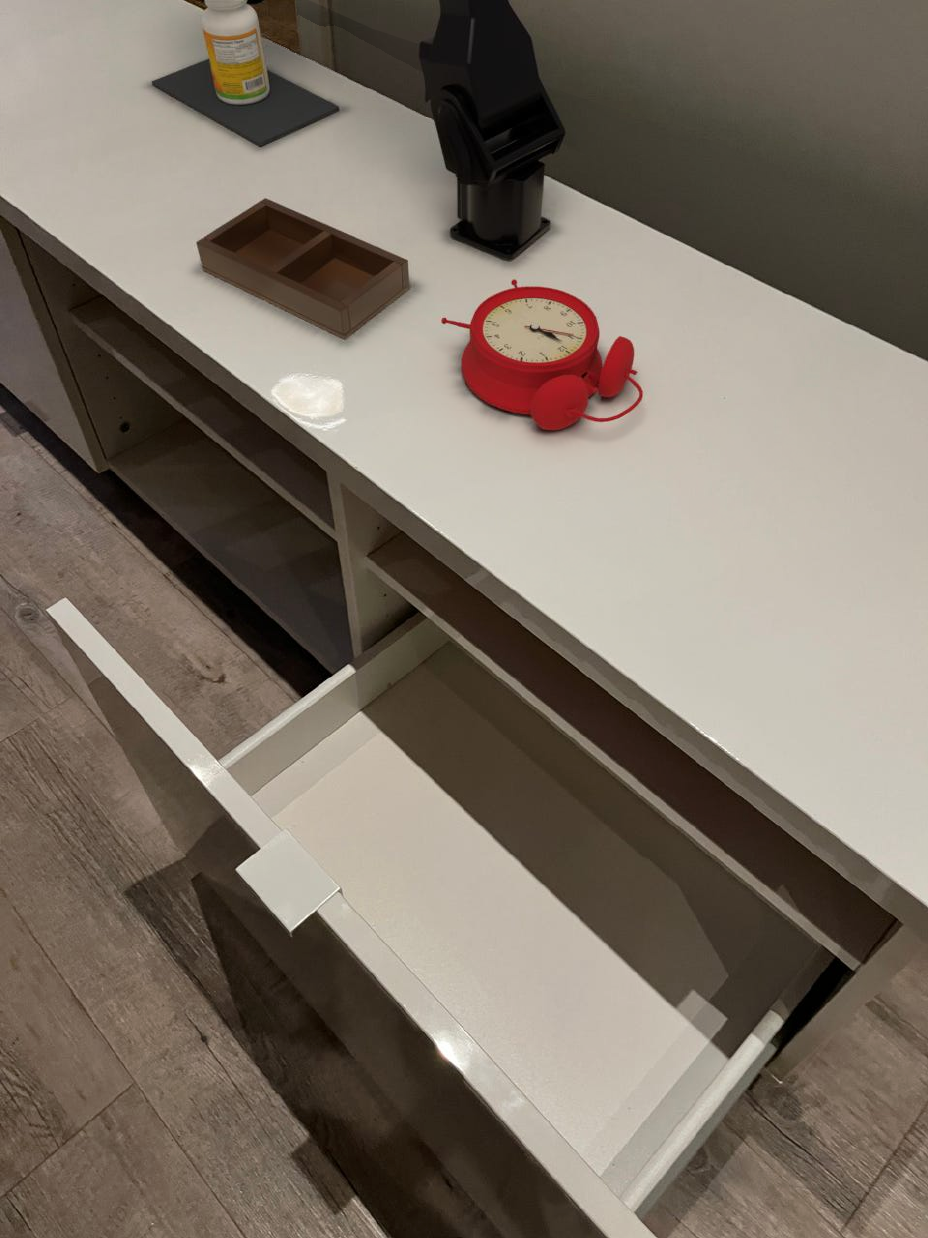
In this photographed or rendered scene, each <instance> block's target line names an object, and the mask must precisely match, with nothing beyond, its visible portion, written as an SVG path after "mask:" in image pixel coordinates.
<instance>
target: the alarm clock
mask: <svg viewBox="0 0 928 1238" xmlns="http://www.w3.org/2000/svg"><path fill="white" fill-rule="evenodd" d="M510 284H511V285H512V286H513V288H508V289H505V290H501V291H499V292H496V293H494V294H493V295H490V296H489V297H487V298H486V299H485V300H483V301H481V303H480V304H479V305H478V306H477V308H476V309H475V310H474V312H473V315H472V317H471V320H470V323H465V322H460V321H454V320H449V319H447V317H442V318H441V322H440V323H441V324H442V325H446V324H450V325H453V326H457V327H459V328H463V329H468V330H469V341H468V342H467V344H466V345H465V347H464V349H463V352H462V355H461V366H460V367H461V368H460V369H461V373H462V377H463V380H464V382H465V384H466V385H467V387H468V388H469V390H470V391H471V392H472V393H473V394H475V396H477V397H478V398H479V399H480V400H482V401H484V402H485V403H486V404H488V405H491V406H493V407H495V408H498V409H499V410H503V411H506V412H510V413H515V414H521V415H530V416H531V418H532V420H533V422H534V423H535V424H536V425H537V426H538V427H539V428H541V429H543V430H546V431H559V430H563V429H565V428H568V427H569V426H572V425H573V424H575V423H576V422H577V421H578V420H579V419H580V418H583V419H586V420H589V421H591V422H598V423H607V422H611V421H615V420H618V419H620V418H622V417H624V416H626V415H627V414H629V413H631V412H632V411H633V410H634V409H635V408H636V407H638V406H639V404H640V403H641V402H642V400H643V396H644V392H643V389H642V387H641V386H640V384H639V383H638V382H637V381H636V380H634V378H632V377H631V376H630V374H631V375H634V376H636V375H637V374H638V371H637V370H635V369H632V368H633V365H634V360H635V347H634V344H633V342H632V341H631V339H629V338H627V337H625V336H622V335H619V336H618V337H616V339H615V340H614V341H613V343H612V345H611V347H610V348H609V350H608V352H607V355H606V356H605V359H604V361H603V358H602V355H601V353H600V351H599V349H598V346H599V340H600V335H601V334H600V327H599V322H598V319H597V317H596V315H595V313H594V311H593V309H592V308H591V307H590V306H589V305H588V304H587V303H586V302H584V300H583V301H582V299H580V298H578V297H577V296H575V295H573V294H571V293H569V292H566V291H563V290H560V289H557V288H551V287H548V286H547V287H545V286H537V285H535V286H534V285H533V286H531V285H530V286H529V285H528V286H527V285H526V286H518V280H517V279H515V278H514V279H512V280H511V282H510ZM628 381H629V382H630V383H631V384H632V385H633V386H634V387H635V388H636V390H637V391H638V397H637V399H636V401H635V402H634V403H633V404H632V405H631V406H629V407H628V408H627V409H625V410H624V411H622V412H620V413H618V414H616V415H612V416H608V417H597V416H596V417H595V416H592V415H588V414H586V413H585V411H586V409H587V407H588V403H589V397H590V396H592V395H594V394H595V393H596V392H598V395H599V396H601V397H604V398H612V397H614V396H617V395H618V394H619V393H621V391H622V390H623V388H624V387H625V385H626V383H627V382H628Z"/></svg>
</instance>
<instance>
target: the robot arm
mask: <svg viewBox="0 0 928 1238" xmlns="http://www.w3.org/2000/svg"><path fill="white" fill-rule="evenodd" d="M438 1H439V18H438V22H437V25H436V29H435V33H434V35H433V36H431V37H429V38H426V39H424V40H422V41H420V43H419V47H418V59H419V63H420V66H421V70H422V75H423V78H424V102H425V103H430V109H431V113H432V118H433V122H434V126H435V130H436V134H437V138H438V143H439V146H440V147H439V148H440V150H441V155H442V158H443V162H444V167H445V170H447V171H448V172H450V173H452V174H454V175H455V178H456V213H457V214H456V216H457V219H459V221H457V223H455V224H454V225H453V226H451V227H450V228H449V236H450V237H452V239H455V240H458V241H461V242H463V243H466V244H468V245H469V246H473V247H475V248H478V249H480V250H483V251H485V252H487V253H490V254H491V255H494V256H497V257H499V258H502V259H504V260H507V261H508V260H513V259H514V258H516V257H517V256H518V255H519V254H520V253H521V252H523V251H524V250H526V248H528V246H530V245H531V244H533V243H534V242H535V241H536V240H538V239H539V238H540V237H542V235H543V234H544V233H545V232H547V231H548V230H549V229H551V223H552V222H551V221H552V220H550V219H548V218H547V217H543V216H542V214H543V213H542V212H543V211H542V210H543V199H544V186H545V185H544V184H545V170H546V163H545V162H543V161H541V160H543V159H544V158H546V157H548V156H550V155H555V154H556V153H558V152H559V151H560V148H561V145H562V143H563V141H564V139H565V136H566V128H565V126H564V125H563V121H562V120H561V118H560V116H559V114H558V112H557V109H556V108H555V106H554V104H553V102H552V100H551V98H550V96H549V94H548V92H547V90H546V87H545V86H544V83H543V81H542V80H541V78H540V74H539V68H538V63H537V59H536V54H535V48H534V43H533V39H532V36H531V34H530V32H529V30H528V29H527V27H526V26H525V24H524V22H523V21H522V20H521V18H520V16H519V15H518V13H517V12H516V10H515V9H514V7H513V5H512V4H511V2H510V1H509V0H438Z"/></svg>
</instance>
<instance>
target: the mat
mask: <svg viewBox="0 0 928 1238" xmlns="http://www.w3.org/2000/svg"><path fill="white" fill-rule="evenodd" d="M267 74H268V80H269V87H270V90H269V94H268V95H267V96H266V98H264V99H263V100H261V101H259V102H256V103H253V104H248V105H231V104H227V103H225V102H223V101H222V100H220V99H219V98H218V96H217V93H216V90H215V85H214V81H213V76H212V71H211V67H210V62H209V58H207V59H204V60H201V61H199V62H197V63H194V64H192V65H189V66H187V67H184V68H181V69H179V70H177V71H174V72H172V73H169V74H167V75H164V76H162V77H159V78H156V79H155V80H152V81H151V85H152V86H153V87H155V88H156V89H158V90H160V91H162V92H164V93H165V94H167V95H169V96H171V97H172V98H173V99H176V100H177V101H179V102H181V103H182V104H184V105H186V106H188V107H190V108H191V109H193V110H194V111H196V112H198V113H200V114H201V115H203V116H205V117H207V118H208V119H210V120H211V121H214V122H216V123H218V124H219V125H221V126H223V127H225V128H226V129H228V130H230V131H232V132H233V133H235V134H236V135H239V136H240V137H242V138H244V139H246V140H247V141H249V142H251V143H253V144H254V145H256V146H257V147H260V148H261V147H263V146H266V145H267V144H271V143H272V142H274V141H276V140H278V139H280V138H281V139H282V138H284V137H285V136H287V135H290V134H292V133H294V132H297V131H298V130H300V129H302V128H305V127H307V126H309V125H311V124H313V123H315V122H317V121H320V120H322V119H324V118H326V117H328V116H331V115H333V114H335V113H337V112H339V111H340V106H338V105H336V104H335V103H333V102H331V101H329V100H328V99H325V98H323V97H321V96H319V95H317V94H316V93H313V92H311V91H310V90H308V89H306V88H304V87H302V86H300V85H297V84H296V83H294V82H292V81H291V80H288V79H286V78H284V77H282V76H280V75H279V74H277V73H275V72H273V71H271V70H269V69H267Z"/></svg>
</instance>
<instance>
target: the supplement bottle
mask: <svg viewBox="0 0 928 1238" xmlns="http://www.w3.org/2000/svg"><path fill="white" fill-rule="evenodd" d="M203 1H204V4H205V6H206V8H205V9H204V11H203V12H202V14H201V18H200V22H201V23H200V24H201V28H202V33H203V37H204V42H205V43H204V44H205V47H206V53H207V57H208V59H209V62H210V67H211V71H212V76H213V81H214V85H215V90H216V93H217V96H218V98H219V99H220V100H222V101H223V102H225V103H227V104H231V105H248V104H253V103H256V102H259V101H261V100H263V99H264V98H266V96H267V95H268V94H269V90H270V87H269V80H268V74H267V70H268V69H267V63H266V58H265V57H266V56H265V51H264V50H265V49H264V45H263V40H262V34H261V33H262V32H261V26H260V21H259V17H258V14H257V11H256V10H255V9H254V7H252V6H251V5H250V4H249V3H247V2H248V0H203Z"/></svg>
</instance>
